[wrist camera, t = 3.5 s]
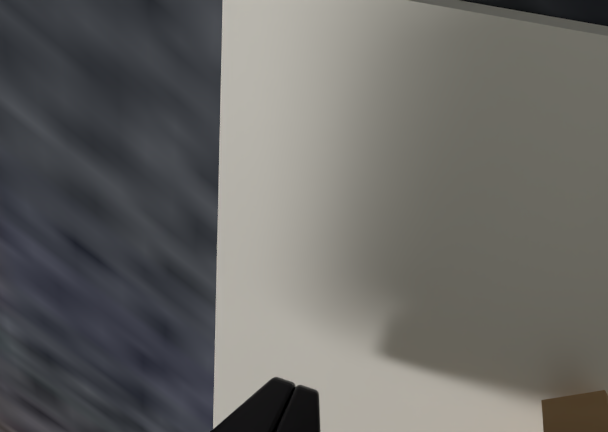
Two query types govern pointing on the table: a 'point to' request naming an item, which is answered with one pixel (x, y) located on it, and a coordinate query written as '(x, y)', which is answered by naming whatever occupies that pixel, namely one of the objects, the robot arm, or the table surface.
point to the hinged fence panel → (576, 413)
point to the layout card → (412, 211)
